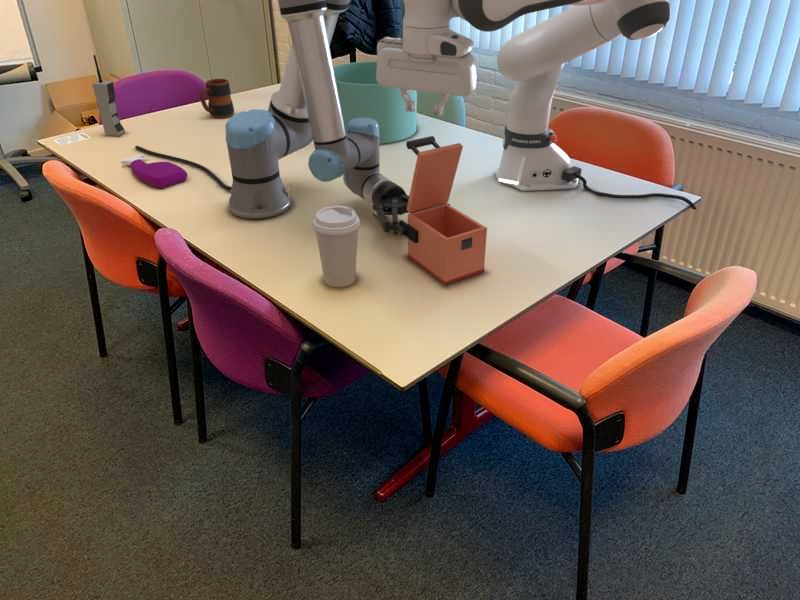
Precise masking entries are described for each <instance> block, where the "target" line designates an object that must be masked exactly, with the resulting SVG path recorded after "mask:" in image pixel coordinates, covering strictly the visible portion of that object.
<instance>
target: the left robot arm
mask: <svg viewBox="0 0 800 600" xmlns="http://www.w3.org/2000/svg"><path fill="white" fill-rule="evenodd" d="M350 2H351V0H277V3H278V9H279V12H280V17H281V18H283V19H284V20H285V22H287V26H288V31H289V35H290V40H291V43H290V46H289V51H288V55H287V59H286V63H285V67H284V71H283V75H282V78H281V83H280V87H279V90H276V91H275V92H273V93H272V94H271V97H270V100H269V105H268V109H267V110H265V109H249V110H248V111H245V110H243V111H240V112H238V113H235V114H233V115H232V116H230V118H229V119H228V120H227V121H226V123H225V127H224V128H225V142H226V147H227V152H228V158H229V165H230V169H231V170H230V171H231V177H232V184H231V186H230V185H227V184H225V183H224V182H223V181H222V180H221V179H220V178H219V177H218V176H216V174H215V173H213V172H212V171H211V170H210V169H209V168H207V167H206V166H204V165H201V164H200V163H197V162H194V161H191V160H188V159H185V158H181V157H177V156H172V155H170V154H169V155H168V154H166V153H165V154H164V153H159V152H156V151H153V150H149V149H147V148H144V147H142V146H140V145H135V146H134V149H136V150H139V151H141V152H143V153H145V154H148V155H152V156H156V157H160V158H163V159H168V160H172V161H176V162H181V163H184V164H187V165H190V166H193V167H195V168H198V169H200V170H202V171H203V172H205V173H207V174H208V175H209V176H210V177H211V178H213V179H214V180H215V181H216V182H217V183H218V185H220V186H221V187H222V188H223V189H225V190H227V191H230V197H229V199H228V206H229V212H230V213H231V214H232V215H233V216H235V217H237V218H240V219H246V220H264V219H269V218H274V217H278V216H279V215H280V216H281V215H282V214H283V213H286V212H287V211H288V210H289V209H290V207H291V198H290V195H289V193H290V186H289V185H290V184H289V183H288V185H287V186H288V187H287V190H288V192H287V190H286V187H285V184H284V182H283V180H282V178H281V173H280V163H279V160H281V159H283V158H285V157H288V156H289V155H292V154H293V153H296V152H298V151H300V150H302V149H304V148H306V147H308V146H309V145H310V144H312V142H313V146H314V150H313V152H311V153H310V155H309V157H308V168H309V171H310V173H311V175H312V176H313V177H314V178H315V179H317V180H318V181H320V182H325V183H329V182H332V181H334V180H336V179H338V178H341V177H342V180H343V183H344V185H345V186H346V188H348V189H349V191H350V192H351V193H353V194H355V195H356V196H357V197H359V198H361V199H362V200H364V201H365V202H367V203H368V204H369V205H371V206H372V210H371V211H372V217H374V218H375V219H377V222H378V224H379V225H380V227H381V229H382V231H383V232H384V233H386V234H387V233H388V234H389V233H390V231H392V235H394V236H398V235H400V236H401V237H402V236H403V237H405V238H406V239H407V240H408V239H410V240H411V241H412V242H414V243H415V244H416V243H418V231H417V230H416V229H414V228H413V227H411V226H410V225H408V222H406V221H404V220H403V219H400V220H399V216H402V215H405V214H411V213H414V212H411V213H409V212H408V211H407V210H406V209H407V205H408V200H409V195H408V194H407V192H406V191H405V190H404V188H403V187H402V186H400V185H398V184H397V183H395V182H394V181H393V180H391V179H390V178H388V177H386V176H384V175H383V174H381V170H380V169H381V167H380V166H381V165H380V164H381V163H380V160H381V159H380V155H381V154H380V144H379V138H380V136H379V128H378V123H377V122H376V121H375V120H373V119H370V118H355V119H352V120H350V121H349V123H348V129H347V132H348V134H347V135H346V132H345V127H344V122H343V116H342V111H341V106H340V100H339V95H338V90H337V85H336V79H335V74H334V69H333V67H334V64H333V59H332V53H331V48H330V47H331V43H332V39H333V35H334V32H335V29H336V25H337V22H338V18H339V15H340V14H342V13H344V12H346V11H347V10H349V9H348V8H349V6H350ZM444 204H448V205H450V206H451V204H450V203H449V202H447V203H444ZM444 204H440V205H444ZM440 205H436V206H440ZM436 206H433V207H436ZM433 207H429V208H433ZM429 208H426V209H429ZM422 210H425V209H422ZM422 210H418V211H422ZM418 211H415V212H418ZM388 216H391V221H390V220H389V218H388Z"/></svg>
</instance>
